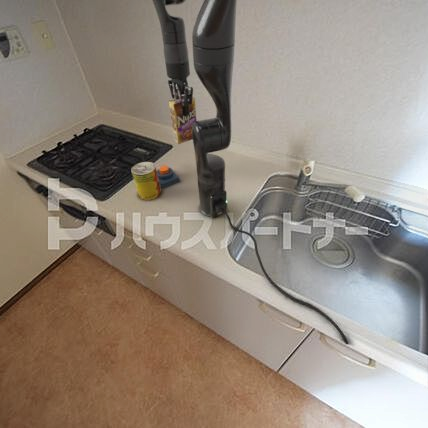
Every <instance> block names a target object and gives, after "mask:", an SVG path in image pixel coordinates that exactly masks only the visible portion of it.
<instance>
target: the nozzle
mask: <svg viewBox="0 0 428 428" xmlns="http://www.w3.org/2000/svg"><path fill="white" fill-rule="evenodd" d="M169 168H170V166H168V165H162V166H160V167H158V169H159V171H160V174H161V175H166V174H168V173H169Z"/></svg>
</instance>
